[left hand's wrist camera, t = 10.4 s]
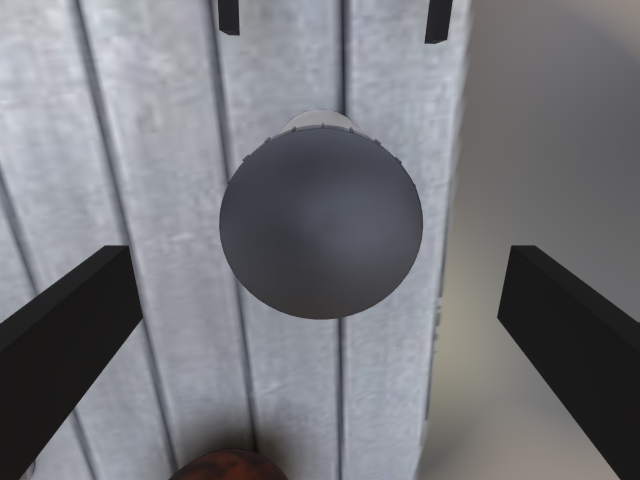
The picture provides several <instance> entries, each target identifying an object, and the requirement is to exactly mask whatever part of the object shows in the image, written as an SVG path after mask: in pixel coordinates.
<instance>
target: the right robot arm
mask: <svg viewBox="0 0 640 480" xmlns="http://www.w3.org/2000/svg"><path fill="white" fill-rule="evenodd" d="M452 1H453V0H430V3H429V11H428V19H427V27H426V35H425V43H426V44H436V43H439V42H442V41H445V40H447V36H448V29H449V22H450V15H451V8H452ZM218 13H219V30H220V31H222V32H224V33H226V34H228V35H239V36H240V32H239V3H238V0H218Z"/></svg>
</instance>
